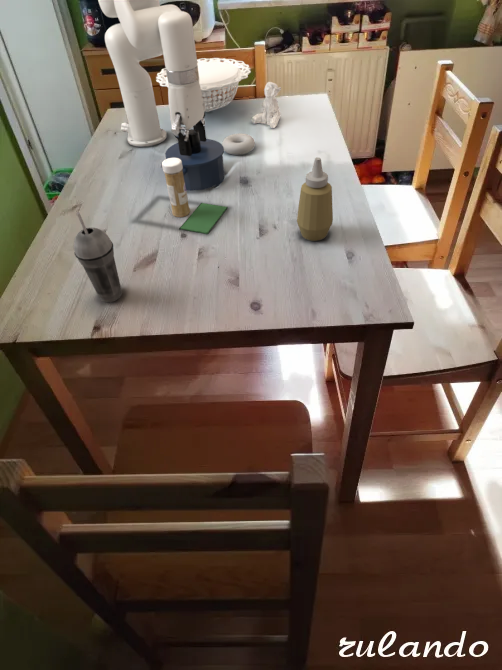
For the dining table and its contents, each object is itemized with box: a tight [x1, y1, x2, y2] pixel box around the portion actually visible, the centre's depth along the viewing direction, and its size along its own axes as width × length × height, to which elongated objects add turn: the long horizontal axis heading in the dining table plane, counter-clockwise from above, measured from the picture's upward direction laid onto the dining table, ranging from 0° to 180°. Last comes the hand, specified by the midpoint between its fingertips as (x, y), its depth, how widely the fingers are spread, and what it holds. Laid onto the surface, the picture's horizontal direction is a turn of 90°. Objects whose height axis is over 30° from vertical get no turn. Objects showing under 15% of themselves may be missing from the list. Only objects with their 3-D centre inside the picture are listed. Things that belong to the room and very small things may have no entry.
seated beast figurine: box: [251, 81, 282, 129], centre depth 149 cm, size 10×9×12 cm
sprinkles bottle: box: [161, 158, 191, 218], centre depth 111 cm, size 5×5×14 cm
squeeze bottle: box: [296, 156, 334, 242], centre depth 100 cm, size 8×8×18 cm
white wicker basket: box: [155, 57, 252, 113], centre depth 157 cm, size 32×32×13 cm
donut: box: [221, 132, 256, 156], centre depth 138 cm, size 10×4×10 cm
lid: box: [164, 128, 225, 167], centre depth 121 cm, size 16×16×6 cm
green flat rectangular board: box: [178, 202, 228, 235], centre depth 115 cm, size 20×12×1 cm, turn 69°
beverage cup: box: [73, 211, 123, 303], centre depth 88 cm, size 7×7×20 cm
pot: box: [182, 154, 226, 192], centre depth 125 cm, size 15×20×7 cm
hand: (193, 147), depth 122 cm, fingers open, 8 cm apart
